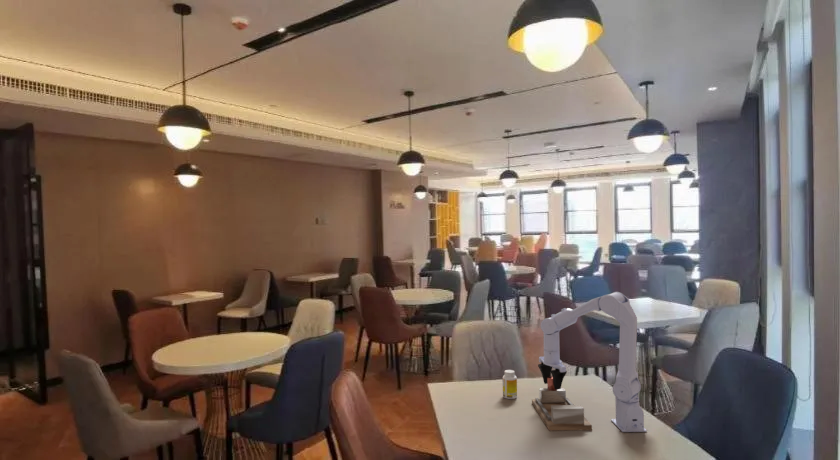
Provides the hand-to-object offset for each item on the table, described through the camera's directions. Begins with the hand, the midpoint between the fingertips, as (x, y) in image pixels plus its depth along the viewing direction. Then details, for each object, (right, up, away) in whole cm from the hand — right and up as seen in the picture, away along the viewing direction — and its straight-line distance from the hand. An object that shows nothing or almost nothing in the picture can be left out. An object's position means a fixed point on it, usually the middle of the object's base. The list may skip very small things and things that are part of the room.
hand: (552, 386), depth 175 cm
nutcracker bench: (0, -7, -9) cm, 12 cm away
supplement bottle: (-14, -8, +10) cm, 19 cm away
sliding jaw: (0, -6, 0) cm, 6 cm away
